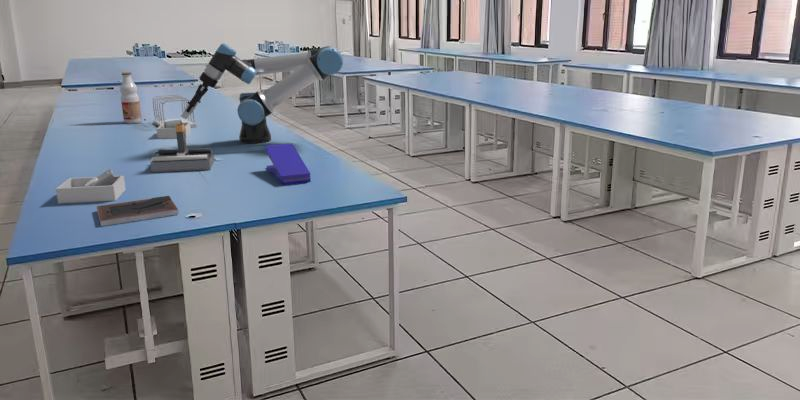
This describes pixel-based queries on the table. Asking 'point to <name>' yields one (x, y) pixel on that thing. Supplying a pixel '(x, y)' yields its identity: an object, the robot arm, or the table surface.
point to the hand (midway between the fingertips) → (185, 115)
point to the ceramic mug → (172, 123)
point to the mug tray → (171, 131)
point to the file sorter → (159, 122)
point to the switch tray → (90, 190)
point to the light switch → (100, 179)
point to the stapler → (287, 164)
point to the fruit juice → (130, 100)
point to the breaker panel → (183, 163)
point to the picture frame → (136, 210)
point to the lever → (181, 138)
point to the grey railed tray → (177, 158)
